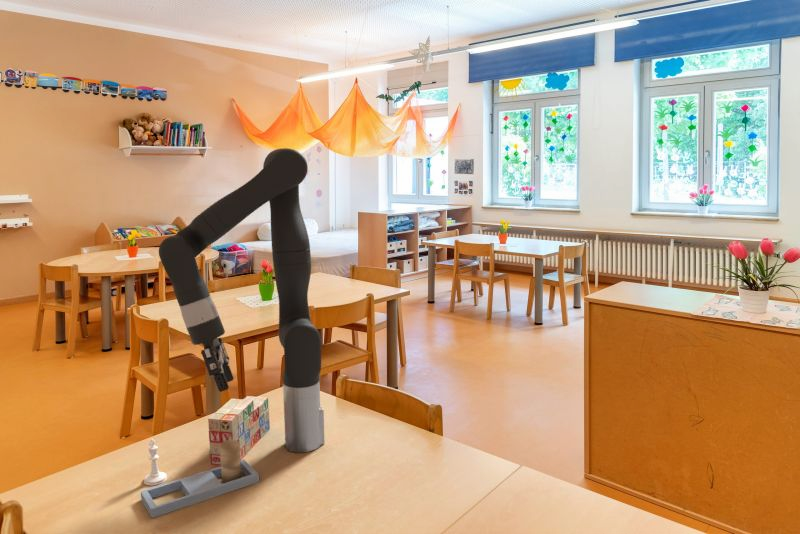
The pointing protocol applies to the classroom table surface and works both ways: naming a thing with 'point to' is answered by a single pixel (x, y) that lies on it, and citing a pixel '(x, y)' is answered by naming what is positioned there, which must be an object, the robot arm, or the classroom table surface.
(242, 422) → the stack of blocks
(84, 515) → the classroom table surface
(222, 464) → the tan brown upright column
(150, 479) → the chess piece
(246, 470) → the blue-grey slotted tray
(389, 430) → the classroom table surface
